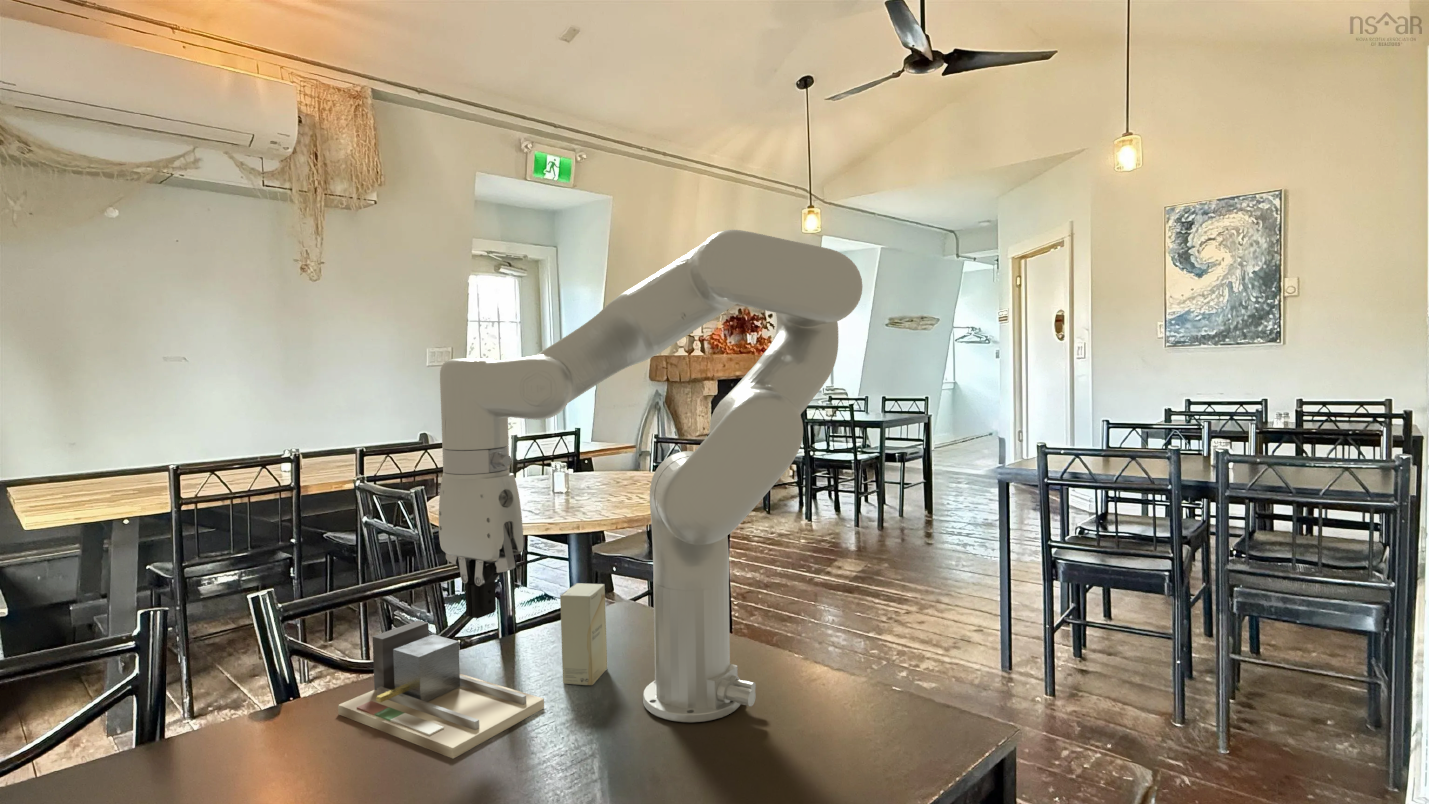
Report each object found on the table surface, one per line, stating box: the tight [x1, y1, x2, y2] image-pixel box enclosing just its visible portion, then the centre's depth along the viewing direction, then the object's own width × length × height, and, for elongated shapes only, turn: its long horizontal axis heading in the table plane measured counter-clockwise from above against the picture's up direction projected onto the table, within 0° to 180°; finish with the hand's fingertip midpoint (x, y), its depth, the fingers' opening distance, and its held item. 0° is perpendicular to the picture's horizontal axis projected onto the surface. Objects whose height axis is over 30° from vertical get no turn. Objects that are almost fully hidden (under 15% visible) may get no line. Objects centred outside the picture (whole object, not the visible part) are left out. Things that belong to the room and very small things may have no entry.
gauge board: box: [337, 619, 545, 759], centre depth 95 cm, size 21×14×8 cm, turn 58°
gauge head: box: [376, 634, 461, 703], centre depth 96 cm, size 5×10×6 cm, turn 148°
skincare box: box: [559, 582, 608, 686], centre depth 105 cm, size 6×4×12 cm
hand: (481, 614), depth 92 cm, fingers closed
